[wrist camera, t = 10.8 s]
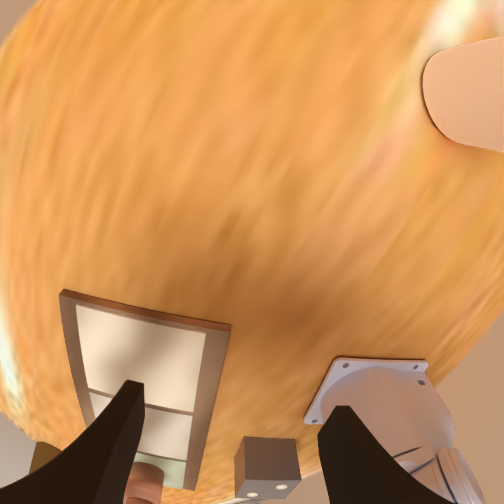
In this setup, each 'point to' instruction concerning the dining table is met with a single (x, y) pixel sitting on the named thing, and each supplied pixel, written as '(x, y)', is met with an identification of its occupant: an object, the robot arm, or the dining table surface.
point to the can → (468, 93)
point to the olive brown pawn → (43, 455)
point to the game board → (148, 375)
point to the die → (266, 468)
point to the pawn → (144, 484)
